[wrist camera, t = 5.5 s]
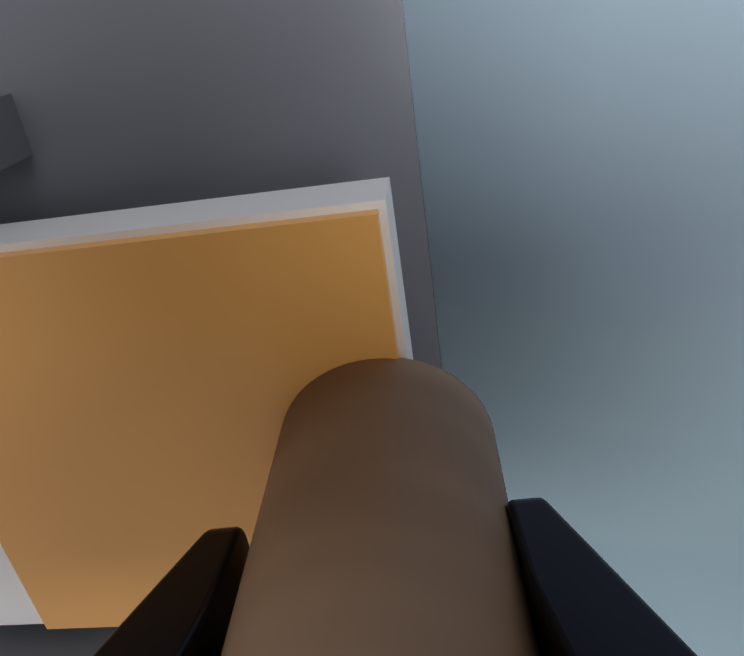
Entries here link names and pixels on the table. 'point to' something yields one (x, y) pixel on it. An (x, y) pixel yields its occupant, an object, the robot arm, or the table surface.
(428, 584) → the walnut cylinder
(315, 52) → the grey square block
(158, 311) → the white and orange panel
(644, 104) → the table surface
